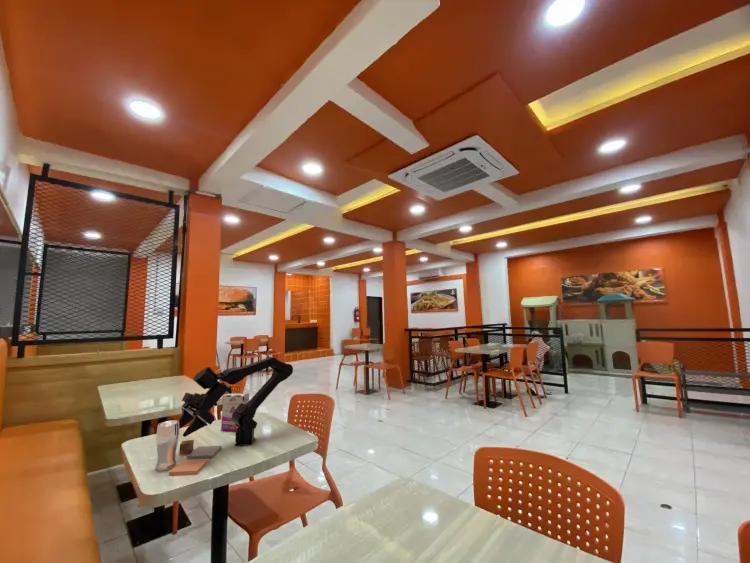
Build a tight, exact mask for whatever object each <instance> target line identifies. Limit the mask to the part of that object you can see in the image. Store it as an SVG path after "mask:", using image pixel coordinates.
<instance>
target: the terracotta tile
mask: <svg viewBox="0 0 750 563" xmlns="http://www.w3.org/2000/svg"><path fill="white" fill-rule="evenodd" d="M209 461H210V459H191V460H187V459H183V460H181V461H179V462H178V463H177V464H176V466H175V467H174V468H172V469H170V470H169V471H168V476H171V475H172V476H173V477H174V476H191V475H192V476H194V475H198V474H199V473H200V472H201V471H202V470H203V469H204V467H205V466H207V464H209Z"/></svg>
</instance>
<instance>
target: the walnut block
mask: <svg viewBox="0 0 750 563" xmlns="http://www.w3.org/2000/svg"><path fill="white" fill-rule="evenodd" d="M194 441H195V440H194V439H189V440H188V439H187V440H182V441H181V443H180V444H179V452H178V453H179V455H178V456H185V455H187V456H188V455H189V454H191V453H192V452H193V451H194Z"/></svg>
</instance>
